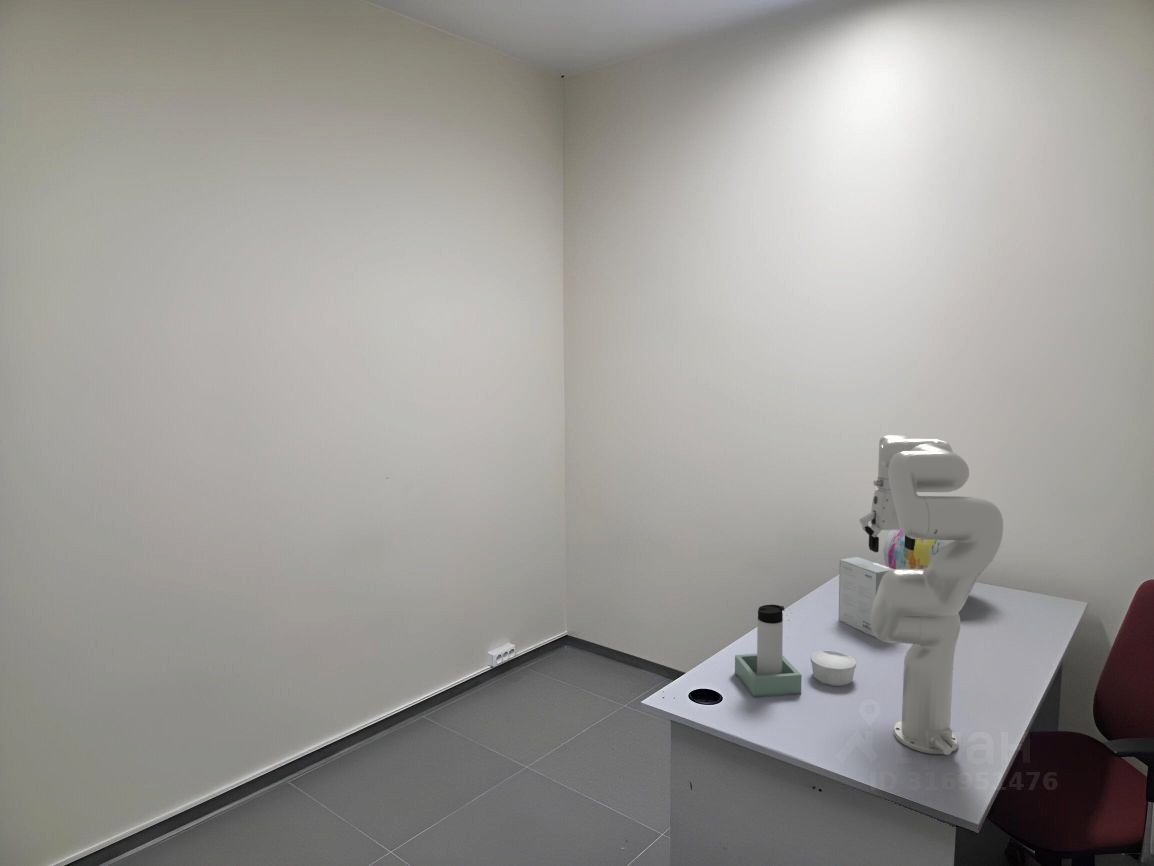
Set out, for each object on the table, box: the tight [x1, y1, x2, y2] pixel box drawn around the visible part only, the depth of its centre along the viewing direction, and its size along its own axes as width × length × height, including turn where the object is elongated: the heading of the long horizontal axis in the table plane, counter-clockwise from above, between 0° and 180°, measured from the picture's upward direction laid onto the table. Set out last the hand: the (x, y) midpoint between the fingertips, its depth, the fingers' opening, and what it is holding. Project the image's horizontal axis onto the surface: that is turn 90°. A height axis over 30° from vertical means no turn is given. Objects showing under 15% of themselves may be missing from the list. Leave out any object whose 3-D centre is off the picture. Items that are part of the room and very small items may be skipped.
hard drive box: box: [838, 556, 893, 638], centre depth 212 cm, size 16×8×20 cm, turn 22°
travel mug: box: [756, 604, 785, 676], centre depth 177 cm, size 6×7×20 cm
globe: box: [882, 530, 955, 569], centre depth 236 cm, size 30×30×30 cm
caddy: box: [734, 653, 802, 699], centre depth 179 cm, size 13×12×5 cm
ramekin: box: [810, 650, 857, 687], centre depth 181 cm, size 11×11×5 cm
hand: (891, 549), depth 177 cm, fingers open, 9 cm apart
